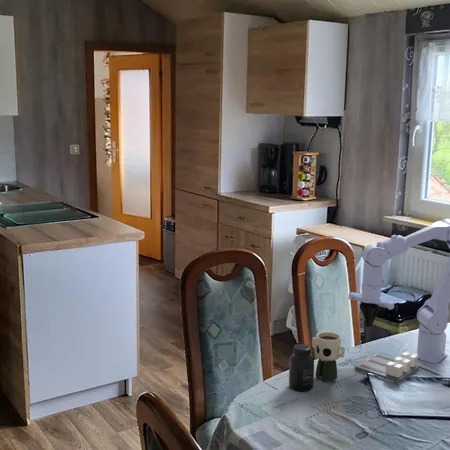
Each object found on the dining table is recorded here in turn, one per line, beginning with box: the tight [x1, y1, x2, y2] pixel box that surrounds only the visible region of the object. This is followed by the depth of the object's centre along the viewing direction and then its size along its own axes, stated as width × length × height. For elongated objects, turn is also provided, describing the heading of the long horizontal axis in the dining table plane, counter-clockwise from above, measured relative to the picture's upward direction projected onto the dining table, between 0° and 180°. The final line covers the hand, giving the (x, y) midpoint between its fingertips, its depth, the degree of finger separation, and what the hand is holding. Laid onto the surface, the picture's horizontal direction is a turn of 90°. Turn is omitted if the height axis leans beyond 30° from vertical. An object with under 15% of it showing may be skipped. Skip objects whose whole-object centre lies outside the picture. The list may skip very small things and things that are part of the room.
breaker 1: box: [385, 361, 403, 378], centre depth 177 cm, size 3×4×3 cm, turn 48°
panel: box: [354, 352, 421, 385], centre depth 184 cm, size 14×14×1 cm
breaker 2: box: [401, 351, 419, 367], centre depth 185 cm, size 3×4×3 cm, turn 48°
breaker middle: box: [394, 356, 411, 372], centre depth 181 cm, size 3×4×3 cm, turn 49°
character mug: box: [311, 331, 346, 382], centre depth 177 cm, size 11×7×13 cm, turn 46°
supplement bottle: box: [288, 343, 315, 393], centre depth 171 cm, size 7×7×12 cm
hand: (369, 326), depth 191 cm, fingers closed
